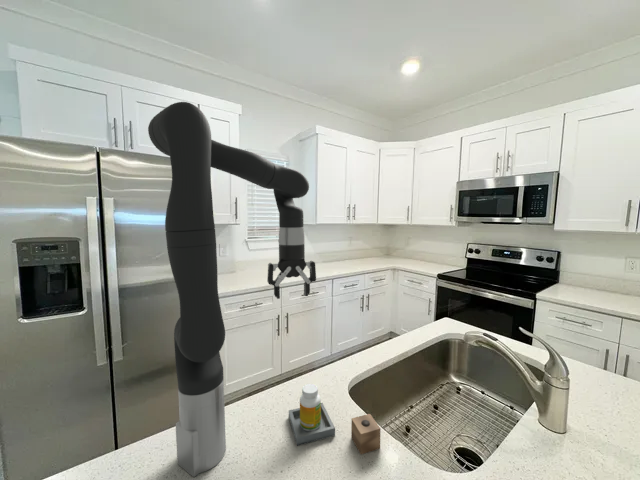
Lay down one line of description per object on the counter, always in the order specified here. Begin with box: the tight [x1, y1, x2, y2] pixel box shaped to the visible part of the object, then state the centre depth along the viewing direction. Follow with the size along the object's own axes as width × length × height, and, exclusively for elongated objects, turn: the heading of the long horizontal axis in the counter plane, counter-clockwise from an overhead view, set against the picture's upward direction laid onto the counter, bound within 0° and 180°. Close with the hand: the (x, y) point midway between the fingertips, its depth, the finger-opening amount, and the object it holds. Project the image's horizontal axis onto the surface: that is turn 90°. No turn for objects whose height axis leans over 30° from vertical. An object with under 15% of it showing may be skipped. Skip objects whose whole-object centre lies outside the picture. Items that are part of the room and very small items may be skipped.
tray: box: [288, 402, 336, 447], centre depth 69 cm, size 10×10×2 cm
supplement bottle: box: [299, 383, 322, 431], centre depth 69 cm, size 5×5×10 cm
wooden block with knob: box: [350, 413, 381, 456], centre depth 64 cm, size 5×5×5 cm
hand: (292, 296), depth 80 cm, fingers open, 8 cm apart
